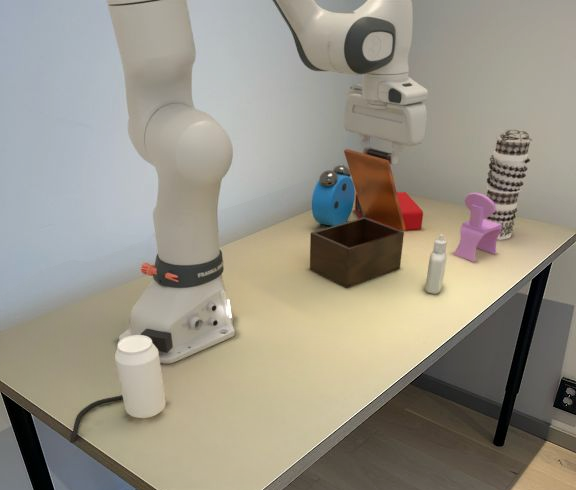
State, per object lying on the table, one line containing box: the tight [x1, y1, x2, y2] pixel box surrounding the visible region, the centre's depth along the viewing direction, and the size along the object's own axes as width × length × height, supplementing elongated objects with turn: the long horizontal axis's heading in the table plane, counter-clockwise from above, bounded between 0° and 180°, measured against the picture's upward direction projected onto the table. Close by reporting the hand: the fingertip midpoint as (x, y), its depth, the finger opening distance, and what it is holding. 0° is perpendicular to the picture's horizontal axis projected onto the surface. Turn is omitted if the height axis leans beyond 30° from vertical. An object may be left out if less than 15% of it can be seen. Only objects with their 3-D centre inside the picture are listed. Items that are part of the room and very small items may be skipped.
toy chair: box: [452, 192, 502, 263], centre depth 137 cm, size 8×9×15 cm
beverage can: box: [114, 335, 167, 419], centre depth 87 cm, size 6×6×12 cm
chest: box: [309, 217, 405, 289], centre depth 132 cm, size 17×13×9 cm
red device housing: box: [354, 191, 424, 231], centre depth 160 cm, size 18×14×5 cm
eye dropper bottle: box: [424, 233, 448, 295], centre depth 122 cm, size 4×6×12 cm
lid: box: [343, 147, 406, 232], centre depth 127 cm, size 17×13×5 cm
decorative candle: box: [485, 129, 533, 241], centre depth 146 cm, size 9×9×25 cm
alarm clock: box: [311, 164, 356, 228], centre depth 154 cm, size 13×6×15 cm, turn 146°
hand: (379, 160), depth 124 cm, fingers closed on lid, 6 cm apart
